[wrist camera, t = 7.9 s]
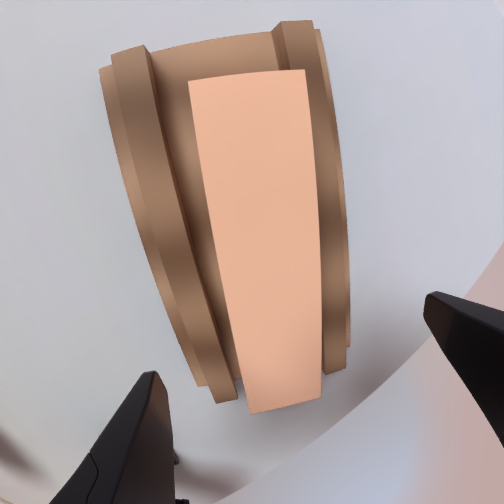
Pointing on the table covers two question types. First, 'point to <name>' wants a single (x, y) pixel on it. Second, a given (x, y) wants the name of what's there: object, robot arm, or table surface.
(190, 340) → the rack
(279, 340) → the peach rectangular block
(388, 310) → the table surface
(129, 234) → the table surface
